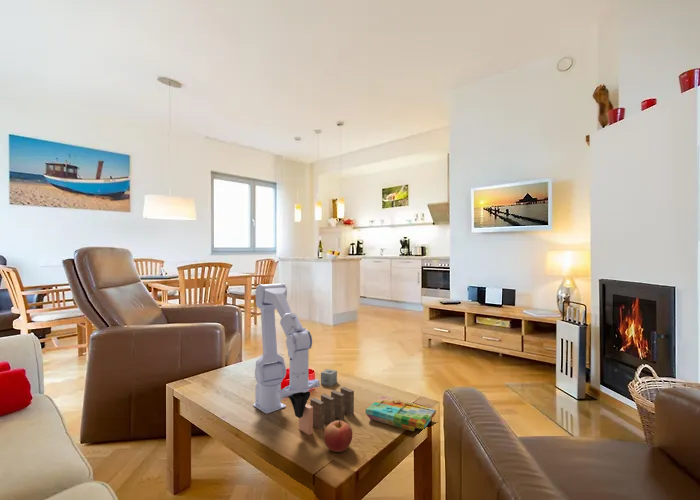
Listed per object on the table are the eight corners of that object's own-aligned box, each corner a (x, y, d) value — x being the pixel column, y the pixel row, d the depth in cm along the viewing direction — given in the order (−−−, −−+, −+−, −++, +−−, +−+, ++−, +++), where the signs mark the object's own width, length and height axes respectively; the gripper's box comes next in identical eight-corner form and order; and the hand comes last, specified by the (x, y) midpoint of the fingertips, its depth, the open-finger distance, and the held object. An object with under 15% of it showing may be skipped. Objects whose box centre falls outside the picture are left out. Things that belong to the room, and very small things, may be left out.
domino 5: (350, 415, 116) (350, 392, 116) (340, 410, 119) (340, 387, 119) (353, 414, 117) (353, 390, 117) (343, 409, 120) (343, 386, 120)
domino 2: (320, 429, 106) (320, 404, 106) (310, 424, 110) (310, 399, 110) (324, 428, 108) (324, 402, 108) (314, 422, 111) (314, 397, 111)
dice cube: (331, 386, 141) (331, 374, 141) (320, 384, 143) (320, 372, 144) (336, 382, 146) (336, 370, 146) (326, 380, 148) (326, 368, 148)
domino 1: (308, 435, 103) (308, 408, 103) (298, 429, 107) (298, 403, 107) (312, 433, 104) (312, 406, 105) (303, 427, 108) (303, 401, 108)
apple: (355, 442, 99) (355, 415, 99) (348, 458, 91) (348, 428, 91) (329, 439, 101) (329, 412, 101) (320, 454, 93) (320, 425, 93)
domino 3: (330, 424, 109) (330, 399, 110) (320, 419, 113) (320, 395, 113) (334, 423, 111) (334, 398, 111) (324, 417, 114) (324, 393, 114)
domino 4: (340, 420, 113) (340, 395, 113) (330, 415, 116) (330, 391, 116) (344, 418, 114) (344, 394, 114) (334, 413, 117) (334, 390, 117)
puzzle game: (381, 394, 123) (436, 407, 112) (381, 407, 123) (436, 421, 112) (365, 406, 113) (424, 422, 102) (365, 421, 113) (424, 437, 102)
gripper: (286, 381, 96) (286, 429, 96) (325, 368, 106) (325, 412, 106) (272, 374, 101) (272, 420, 101) (311, 363, 111) (311, 405, 111)
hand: (298, 416), depth 104 cm, fingers closed
